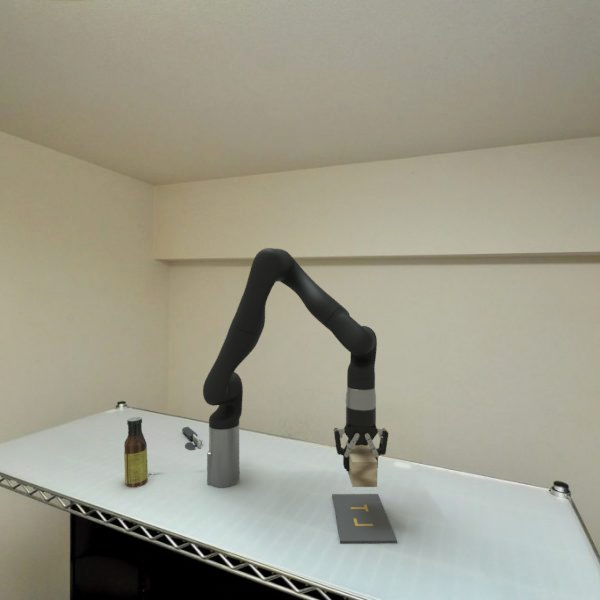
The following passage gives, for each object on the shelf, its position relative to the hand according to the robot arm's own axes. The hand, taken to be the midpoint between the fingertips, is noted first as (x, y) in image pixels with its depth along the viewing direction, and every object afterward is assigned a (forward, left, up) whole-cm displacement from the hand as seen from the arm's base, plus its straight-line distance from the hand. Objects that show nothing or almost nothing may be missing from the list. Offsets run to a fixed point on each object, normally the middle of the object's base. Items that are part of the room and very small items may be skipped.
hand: (360, 469), depth 92 cm
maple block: (0, 0, -1) cm, 1 cm away
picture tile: (0, 0, -12) cm, 12 cm away
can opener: (-58, +47, -12) cm, 75 cm away
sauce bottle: (-65, +17, -12) cm, 68 cm away
